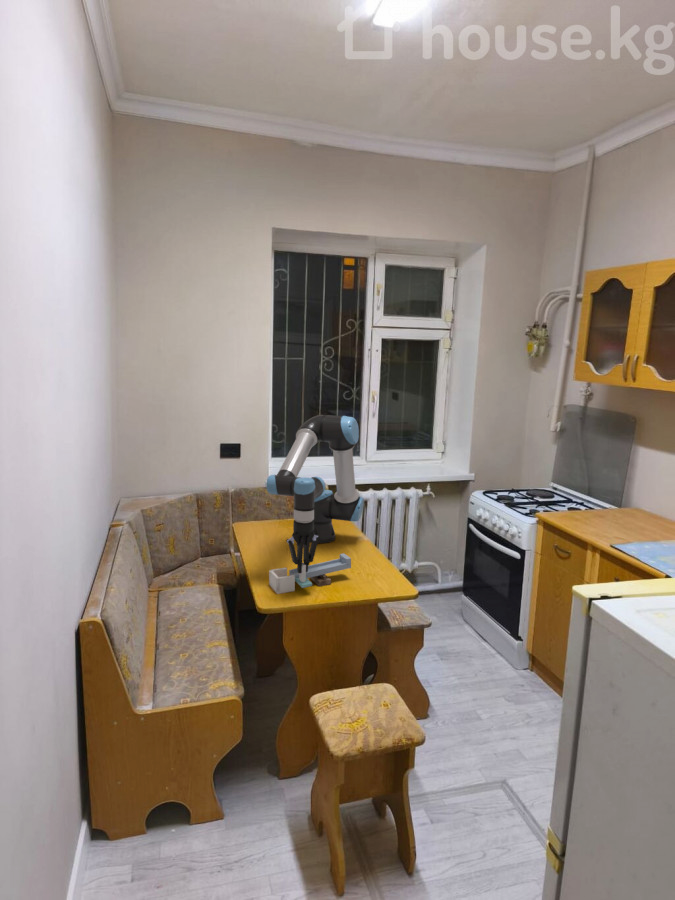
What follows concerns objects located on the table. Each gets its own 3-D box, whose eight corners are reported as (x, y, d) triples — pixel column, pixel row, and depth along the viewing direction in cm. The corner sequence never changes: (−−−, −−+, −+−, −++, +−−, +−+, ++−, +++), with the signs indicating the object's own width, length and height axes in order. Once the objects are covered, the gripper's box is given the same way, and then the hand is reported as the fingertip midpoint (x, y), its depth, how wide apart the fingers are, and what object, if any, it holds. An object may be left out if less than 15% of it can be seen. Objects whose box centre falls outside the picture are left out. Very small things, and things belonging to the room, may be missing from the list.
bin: (286, 581, 228) (286, 567, 227) (294, 590, 220) (294, 575, 219) (269, 584, 225) (269, 570, 224) (277, 593, 217) (277, 578, 216)
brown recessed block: (321, 575, 234) (321, 567, 234) (330, 584, 227) (331, 575, 226) (309, 577, 232) (310, 569, 232) (319, 586, 224) (319, 577, 224)
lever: (344, 562, 236) (344, 553, 236) (359, 574, 225) (359, 564, 224) (289, 575, 226) (288, 565, 225) (302, 588, 215) (301, 577, 214)
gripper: (315, 515, 220) (314, 574, 224) (283, 518, 215) (282, 579, 219) (324, 521, 214) (322, 581, 218) (291, 524, 208) (289, 587, 212)
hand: (302, 580), depth 218 cm, fingers closed
